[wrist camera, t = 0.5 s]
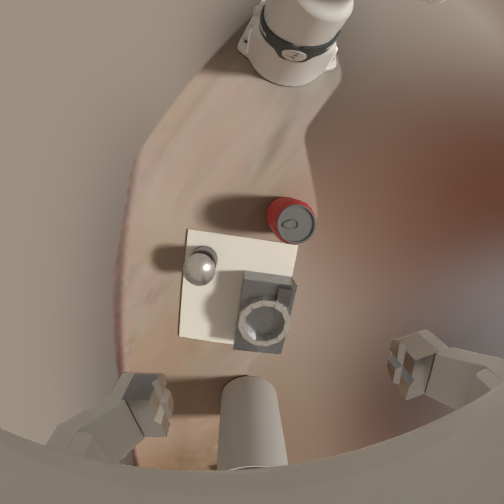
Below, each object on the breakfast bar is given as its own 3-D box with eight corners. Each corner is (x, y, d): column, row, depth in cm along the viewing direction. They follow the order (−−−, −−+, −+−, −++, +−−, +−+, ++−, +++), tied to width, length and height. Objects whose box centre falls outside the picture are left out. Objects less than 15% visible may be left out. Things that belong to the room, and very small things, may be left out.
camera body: (244, 270, 52) (244, 282, 45) (291, 276, 53) (299, 289, 46) (233, 335, 55) (233, 354, 49) (277, 340, 56) (282, 359, 49)
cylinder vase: (254, 365, 58) (261, 457, 33) (286, 396, 60) (303, 481, 36) (210, 390, 59) (200, 478, 35) (244, 418, 62) (246, 501, 37)
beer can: (264, 197, 49) (272, 201, 38) (301, 196, 50) (319, 199, 38) (266, 234, 51) (274, 249, 39) (302, 232, 51) (319, 246, 40)
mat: (188, 229, 50) (188, 229, 50) (297, 245, 52) (298, 245, 51) (179, 335, 55) (179, 336, 55) (275, 347, 57) (275, 348, 56)
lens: (191, 243, 50) (184, 252, 44) (220, 247, 51) (216, 257, 44) (188, 270, 52) (181, 283, 45) (216, 274, 52) (213, 287, 45)
